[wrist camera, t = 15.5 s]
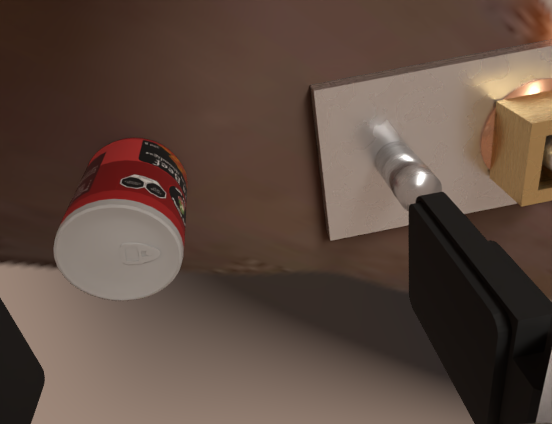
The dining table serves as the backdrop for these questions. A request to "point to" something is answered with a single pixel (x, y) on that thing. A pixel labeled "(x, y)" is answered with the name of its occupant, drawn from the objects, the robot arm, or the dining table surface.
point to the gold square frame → (522, 147)
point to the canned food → (125, 222)
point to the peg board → (418, 135)
